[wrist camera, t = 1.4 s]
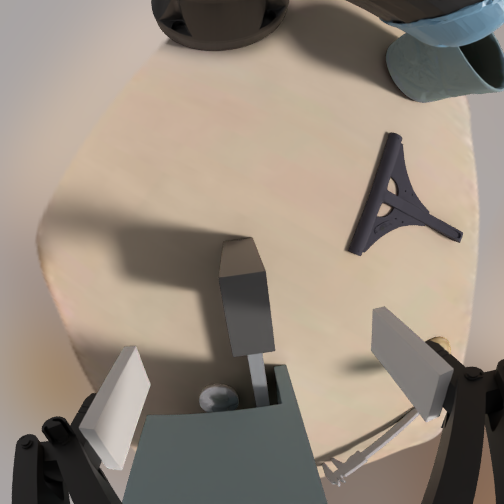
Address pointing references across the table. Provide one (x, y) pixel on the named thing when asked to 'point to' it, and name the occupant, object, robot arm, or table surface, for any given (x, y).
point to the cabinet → (227, 456)
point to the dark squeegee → (394, 203)
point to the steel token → (218, 398)
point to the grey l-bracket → (247, 309)
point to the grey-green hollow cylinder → (445, 68)
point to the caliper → (366, 451)
